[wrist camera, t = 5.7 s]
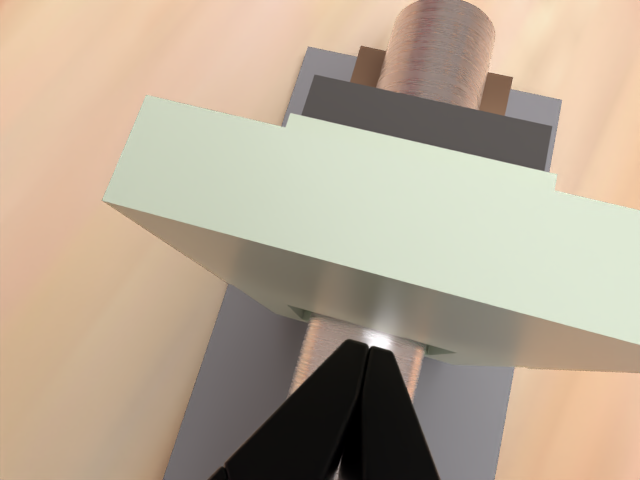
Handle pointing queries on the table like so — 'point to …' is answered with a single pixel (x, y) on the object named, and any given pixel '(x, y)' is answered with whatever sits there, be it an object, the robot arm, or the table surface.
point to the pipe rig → (329, 333)
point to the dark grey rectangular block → (429, 122)
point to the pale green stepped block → (390, 236)
